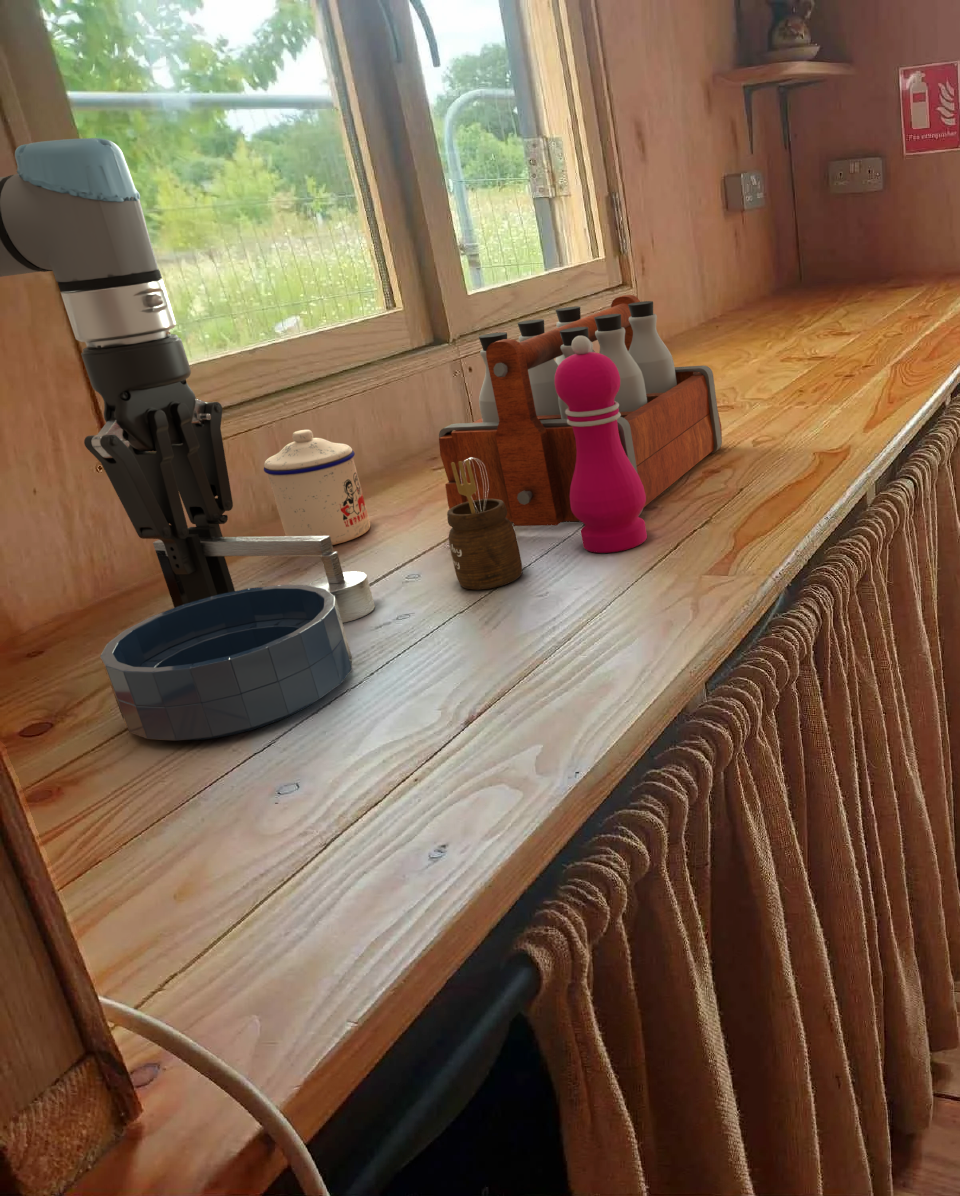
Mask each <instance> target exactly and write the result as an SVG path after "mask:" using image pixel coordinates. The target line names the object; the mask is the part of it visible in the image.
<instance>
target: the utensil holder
mask: <svg viewBox="0 0 960 1196" xmlns="http://www.w3.org/2000/svg"><path fill="white" fill-rule="evenodd" d="M468 459H471V458H468ZM468 459H466V460H464V461H466V462H465V464H466V466H467V470H468V473H469V477H470V481H471V483H468V482H467V478H466V472H464V468H463V465H464V463H463V462H464V461H463V462H461V461H459V462H458V464H459V468H460V471H461V473H460V477H461V475H462V479H463V483H464V484H460V481H459V477H458V473H457V470H456V466H455V463H454V462H452V463H451V466H452V470H453V473H454V477H455V481H456V485H457V488H458V492H459V494H461V495H464V496H466V497H467V498H468V502H465V503H461V504H459V505H456V506H454V507H452V508H451V509H449V508H448V510H447V523H448V526H449V527H451V528H450V530H449V532H448V544H449V551H450V555H451V559H452V564H453V567H454V571H455V575H456V579H457V581H458V583H459V585H460V586H461V587H462V588H464V589H466V590H474V591H475V590H476V591H477V590H490V589H494V588H499V587H503V586H505V585H508V584H511V583H513V582H514V581H516V580H517V579H518V578H519V577H521V575H522V573H523V565H522V564H523V563H522V557H521V552H520V548H519V543H518V538H517V534H516V530H515V526H514V524H513V523H511V522H510V520H508V519H507V518H505V517H506V516H507V509H506V506H505V504H504V502H503V501H502V500H499V499H484V498H483V499H480V498H479V500H473V499H472V498H471V497H472V496H471V495H472V494H474V493H475V492H476V490H477V489H476V485H475V481H474V477H473V474H472V470H471V466H470V462H469V460H468ZM472 459H474V460H475V459H476V460H477V458H472ZM472 459H471V460H472ZM478 460H479V459H478ZM476 462H477V461H476ZM462 463H463V464H462ZM472 463H473V461H472ZM477 463H478V462H477ZM480 464H481V463H480ZM478 465H479V464H478ZM483 465H484V464H483ZM481 466H482V465H481ZM473 467H474V465H473ZM479 467H480V466H479ZM484 467H485V466H484ZM482 469H483V467H482ZM485 470H486V469H485ZM480 471H481V469H480ZM474 472H475V469H474ZM483 473H484V471H483ZM481 475H482V473H481ZM486 475H487V473H486ZM475 477H476V474H475ZM484 478H485V475H484ZM482 480H483V478H482ZM487 480H488V477H487ZM476 482H477V479H476ZM461 483H462V480H461ZM485 485H486V481H485ZM477 488H478V485H477ZM483 488H484V483H483ZM488 490H489V484H488ZM478 494H479V491H478ZM475 495H476V493H475ZM487 497H488V494H487ZM485 498H486V493H485ZM476 499H477V497H476ZM472 500H473V501H472Z"/></svg>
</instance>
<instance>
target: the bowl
mask: <svg viewBox="0 0 960 1196" xmlns="http://www.w3.org/2000/svg"><path fill="white" fill-rule="evenodd" d="M308 585H309V584H277V585H268V586H258V587H250V588H245V589H239V590H235V591H234V592H229V593H224V594H219V595H216V596H212V597H208V598H205V599H201V600H198V601H194V602H191V603H187V604H184V605H181V606H178V607H175V608H174V607H173V608H170V609H168V610H165V611H162V612H160V613H157V614H154V615H152V616H150V617H148V618H146V619H143V620H142V621H140V622H138V623H136V624H134V625H132V626H130V627H128V628H126V629H124V630H122V631H121V632H120V633H119V634H117V635H116V636H114V638H112V639H111V640H110V641H108V642H107V643H106V644H105V646H104V648H103V650H102V652H101V654H100V656H99V657H100V660H101V663H102V666H103V668H104V671H105V675H106V677H107V679H108V682H109V685H110V689H111V691H112V694H113V696H114V699H115V701H116V704H117V707H118V710H119V712H120V715H121V718H122V720H123V723H124V724H125V726H126V728H127V731H128V732H129V733H130V734H133V735H136V736H139V737H141V738H144V739H147V740H158V741H160V740H161V741H199V740H200V741H202V740H210V739H217V738H224V737H229V736H233V735H239V734H242V733H246V732H249V731H254V730H256V729H260V728H263V727H266V726H269V725H271V724H274V723H277V722H279V721H281V720H284V719H286V718H289V717H291V716H292V715H294V714H297V713H299V712H301V711H303V710H304V709H307V708H308V707H309V706H311V705H313V704H314V703H316V702H317V701H319V700H320V699H321V698H323V697H324V696H326V695H327V694H330V692H331V691H333V690H334V689H335V688H338V686H340V685H341V684H342V683H343V682H344V681H345V679H346V678H347V677H348V675H350V673H351V671H353V656H352V652H351V649H350V645H349V641H348V638H347V634H346V630H345V628H344V623H342V619H341V616H340V612H339V608H338V605H337V601H336V598H335V596H334V595H332V594H331V593H330V592H328V591H327V590H326V589H323V588H318V587H313V586H308Z"/></svg>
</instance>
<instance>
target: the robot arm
mask: <svg viewBox="0 0 960 1196" xmlns="http://www.w3.org/2000/svg"><path fill="white" fill-rule="evenodd" d="M14 158H15V162H16V164H17V168H16V173H15V174H11V175H7V176H0V278H1V277H10V276H17V275H24V274H33V273H39V272H41V273H47V272H52V273H53V275H54V278H55V281H56V283H57V285H58V286H57V287H58V289H59V292H60V295H61V299H62V301H63V304H64V308H65V311H66V314H67V317H68V319H69V323H70V326H71V329H72V332H73V335H74V337H75V338H74V339H75V340H76V341H78V342H80V343H85V346H86V347H84V348H83V349H82V352H81V353H80V356H81V358H82V361H83V364H84V367H85V370H86V373H87V376H88V379H89V382H90V385H91V387H92V389H93V390H94V391H95V392H96V393H97V394H98V395H100V397H101V398H102V400H103V419H104V422H105V424H104V425H103V426H102V428H101V429H100V430H99V432H97V434H95V435H94V434H93V435H91V434H90V435H87V436H86V437H85V438H84V441H83V444H84V447H85V448H86V450H88V451H89V452H90V454H92V455H93V456H94V458H95V459H97V460H98V462H99V463H100V465H101V466H102V467H103V470H104V472H105V474H106V476H107V477H108V479H109V481H110V483H111V485H112V487H113V489H114V492H115V493H116V495H117V497H118V499H119V501H120V503H121V505H122V507H123V509H124V511H125V513H126V515H127V516H128V519H129V520H130V523H131V524H132V526H133V528H134V530H135V532H136V534H137V537H139V539H143V540H161V541H162V542H163V543H164V546H165V549H166V552H167V555H168V558H169V561H170V563H171V567H172V570H173V571H174V572H175V574H179V575H180V578H181V581H182V584H183V587H184V590H185V593H186V596H187V599H188V602H189V603H191V602H194V601H198V600H201V599H205V598H208V597H212V596H216V595H219V594H224V593H229V592H234V591H236V589H235V586H234V582H233V580H232V577H231V573H230V570H229V567H228V564H227V560H226V556H204V553H203V549H202V546H201V543H200V539H199V537H224V536H223V532H222V530H221V526H220V525H225V524H226V523H227V522H228V520H229V517H228V514H225V513H226V512H231V511H232V509H233V508H234V501H233V495H232V490H231V484H230V478H229V477H230V476H229V472H228V467H227V466H228V465H227V459H226V454H225V448H224V447H225V446H224V442H223V441H224V440H223V435H222V429H221V428H222V427H221V426H222V419H223V406H222V404H221V403H220V402H219V401H204V400H201V399H199V398H197V397H196V395H195V392H194V391H193V389H192V388H191V387H190V386H189V384H188V381H187V379H188V378H189V377H190V376H191V374H192V370H191V366H190V363H189V360H188V357H187V353H186V350H185V347H184V344H183V340H182V338H181V337H179V336H178V334H171V329H172V330H173V329H174V328H175V327H176V325H177V322H176V318H175V315H174V312H173V309H172V305H171V302H170V299H169V296H168V295H169V294H168V292H167V289H166V287H165V283H164V279H163V277H162V273H161V270H160V268H159V266H158V262H157V259H156V255H155V252H154V249H153V245H152V241H151V238H150V234H149V229H148V227H147V222H146V219H145V214H144V210H143V206H142V203H141V194H140V192H139V191H138V190H137V189H136V186H135V183H134V179H133V177H132V175H131V172H130V168H129V166H128V163H127V161H126V158H125V155H124V153H123V151H122V149H121V148H120V147H119V146H118V144H116V143H115V142H113V141H112V140H109V139H106V138H100V137H99V138H98V137H88V138H87V137H85V138H84V137H83V138H67V139H66V138H65V139H54V140H45V141H36V142H30V143H26V144H20V145H19V146H18V147H17V148H16V149H15V151H14ZM183 506H184V507H183ZM184 509H185V511H184ZM185 512H186V515H187V517H188V520H189V522H190V523H191V524H192V525H194V526H189V527H188V523H187V519H186V518H187V517H186V515H185Z"/></svg>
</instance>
